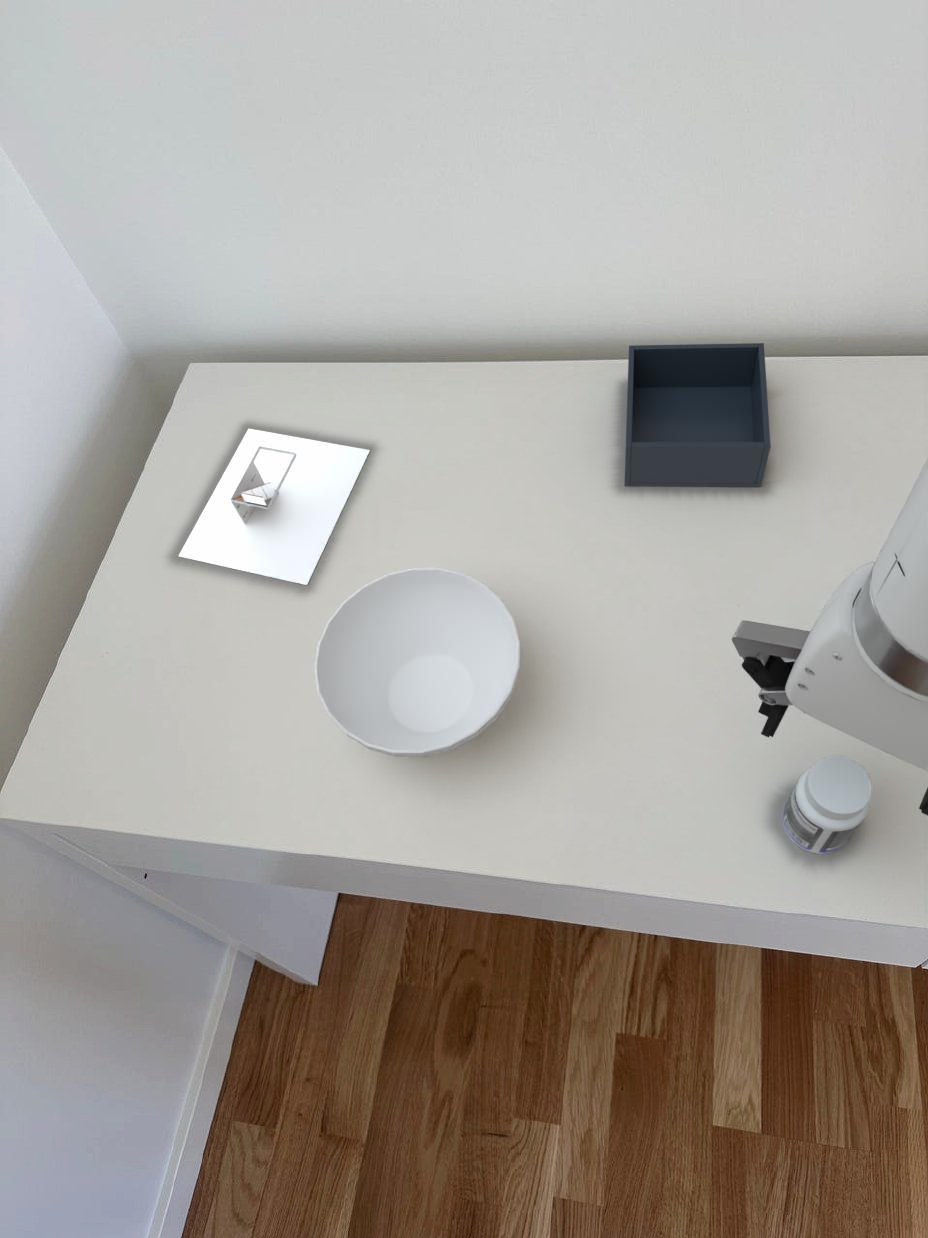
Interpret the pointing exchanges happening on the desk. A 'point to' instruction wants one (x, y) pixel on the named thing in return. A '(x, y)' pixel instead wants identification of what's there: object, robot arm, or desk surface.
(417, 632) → the bowl
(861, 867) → the desk surface
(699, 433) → the bin
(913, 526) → the robot arm
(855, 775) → the pill bottle
